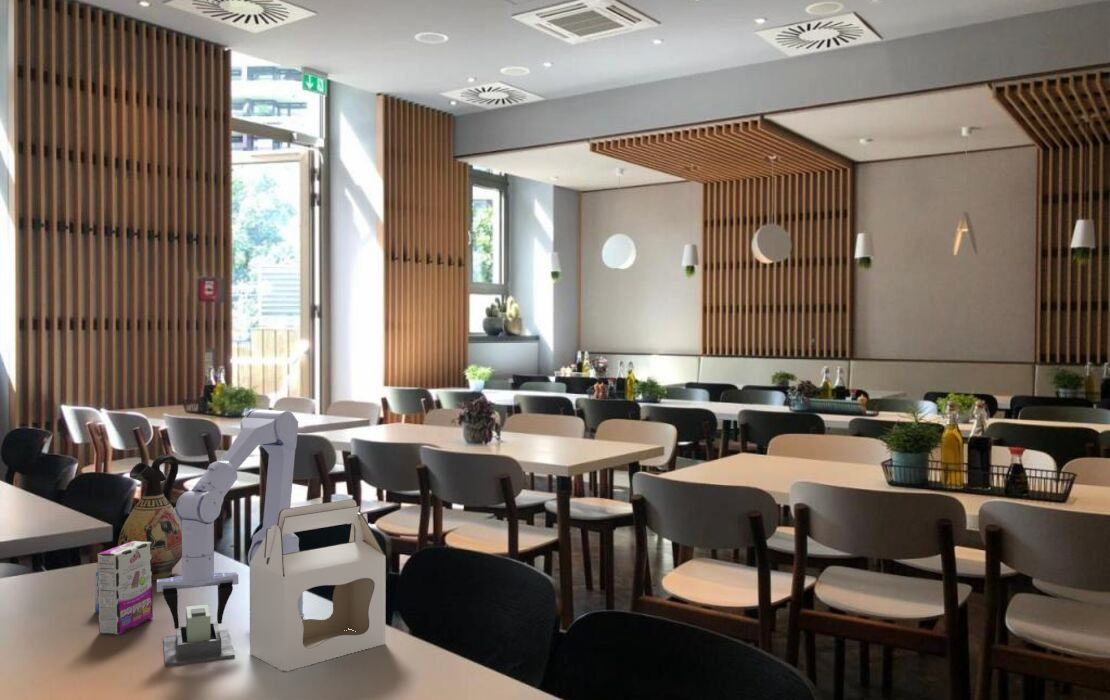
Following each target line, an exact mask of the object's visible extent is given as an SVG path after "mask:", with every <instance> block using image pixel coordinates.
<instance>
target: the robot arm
mask: <svg viewBox="0 0 1110 700" xmlns="http://www.w3.org/2000/svg"><path fill="white" fill-rule="evenodd" d="M298 431H299V421H298V419H297V418H296V416H295V415H294V413H292V411H290V410H283V411H281V410H263V409H256V408H254V409H250V410H248V411H247V412H246V414H245V416H244V417H243V418H242V419H241V421H240V431H239V432H238V434H237V436H236V438H235V439H234V441H233V442H232V444H231V445H230V447H229V449H228V450H227V452H226V453H225V455H224V457H222V459H221V461H220V460H219V461H218V460H216V461H213V462H212V463H210V464H209V465H208V466H207V469H206V471H205V472H204V473H203V475H201V477H200V479H199V480H198V481H197V482H196V484H195V485H194V486H193V487H192V489H191V490H187V491H184V493H183V494H181V495H180V496H179V497H178V499H177V501H176V505H175V507H173V509H174V511H175V515H176V517H177V518H178V520H179V528H180V529H181V530H182V558H181V575H178V576H173V577H166V578H163V579H158V580H156V592H157V593H161V592H162V593H163V594H162V595H163V598H164V600H165V602H166V604H167V606H168V608H169V611H170V613H171V617H172V620H173V627H174V629H175V630H176V629H178V628H179V626H180V624H179V623H180V622H179V614H178V610H179V609H178V608H179V607H178V606H179V605H178V604H179V601H178V599H179V596H178V590H182V589H193V588H203V587H204V588H205V587H212V586H217V612H216V622H217V623H218V625H220V624H222V623H223V617H224V612H225V608H226V606H227V604H228V601H229V599H230V596H231V595H232V592H233V590H234V587H233V585H234V586H235V585H239V572H238V571H233V572H232V571H231V572H215V549H214V548H215V526H214V525H215V520H216V519H217V518H218V517H219V516H220V514H221V510H222V505H223V503H224V500H225V499H224V498H225V496H226V495H227V494H228V492H229V490H230V489H231V488H232V486H233V485H234V484H235V483H236V481H237V479H238V472H237V471H238V469H239V468H240V467H241V466H242V465H243V463H244V462H245V461H246V460H247V459H248V458H249V456H250V455H251V454H252V453H253V452H254V451H255V449H256V448H257V447H258V446H259V447H262V448H263V449H264V450H265V452H266V453H267V454H268V461H267V464H268V465H267V472H266V473H267V474H266V485H265V487H266V488H265V497H264V498H265V500H264V510H263V519H262V528H261V529H259V530H258V531H257V532H255V533H254V535H252V539H251V545H250V548H249V550H248V553H247V554H248V555H247V562H248V565H249V567H250V562H251V560H252V558H253V557H254V555H255V553H256V552H257V550H258V548H259V546H260V545H261V543H262V541H263V540H264V538H265V536H266V529H267V528H271V527H272V526H274V525H277V523H278V517H279V513H280V511H281V510H282V509H286V508H291V502H292V492H293V481H294V479H293V478H294V469H295V468H294V467H295V459H296V458H295V455H296V448H297V443H298V433H299V432H298ZM299 543H300V537H298V536H297V535H296V534H295V532H292V533H290V534H284V535H283V537H282V545H283V554H287V553H293V552H299V551H300V546H299ZM303 594H304V592H303V593H302V594H301V595H300V597H299V599H298V611H299V614H300V616H301V618H302V617H303V616H304V613H303V611H304V610H303V605H304V598H303V597H304V596H303Z"/></svg>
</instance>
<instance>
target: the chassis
mask: <svg viewBox="0 0 1110 700" xmlns="http://www.w3.org/2000/svg"><path fill="white" fill-rule="evenodd" d="M163 652H164V655H163V656H164V667H165V668H167V667H174V666H181V665H188V664H196V663H197V664H199V663H205V662H206V663H207V662H213V661H220V660H228V659H235V658H236V654H235V650H234V647H233V643H232V640H231V635H230V631H229V628H228V629H227V628H225V629H220V628H219V624H218V622H217V621H214V622H210V640H204V641H196V642H188V643H187V635H186V624H184V625H179V628H178V629H175V635H167V636H166V635H165V636H163Z"/></svg>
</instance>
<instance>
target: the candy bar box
mask: <svg viewBox="0 0 1110 700" xmlns="http://www.w3.org/2000/svg"><path fill="white" fill-rule="evenodd" d="M96 560H97V572H98V602H99V612H98V633H99V634H102V635H117V636H120V635H122V634H123V633H125V632H128V631H130V630H132V629H134V628H137V626H140V625H142V624H143V623H146V622H147V621H150V620H151V619H153V618H154V615H153V614H154V613H153V581H152V563H151V542H143V541H131V542H129V543H126V544H123V545H120V546H118V545H117V546H115V547H112V548H110V549H107V550H104V551H101V552H98V553H97V559H96Z"/></svg>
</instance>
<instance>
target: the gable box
mask: <svg viewBox="0 0 1110 700" xmlns="http://www.w3.org/2000/svg"><path fill="white" fill-rule="evenodd" d="M360 508H361V505H357V502H356V500H355V499H344V500H337V501H336V500H335V501H331V502H330V501H329V502H321V503H316V504H308V505H303V506H302V505H301V506H295V507H290V508H286V509H282V510H281V511H280V513H279V517H278V523H277V525H274V526H272V527H271V528H267V529H266V536H265V538H264V540H263V541H262V543H261V545H260V546H259V548H258V550H257V552H256V553H255V555H254V557H253V558H252V560H251V562H250V566H249V654H250V655H251V656H253V657H254V658H257V659H259V660H260V659H261V660H260V661H263V662H265V663H266V664H268V665H270V666H272V667H274V668H275V667H276V669H277V668H278V670H279V671H281V672H283V673H284V671H285V672H286V671H287V672H291V671H294V670H293V669H295V670H297V669H296V668H298V669H301V668H300V667H302V668H305V667H308V666H307V665H309V666H311V664H313V665H316V664H319V663H318V662H320V663H323V662H326V661H325V660H327V661H330V660H329V659H331V660H333V659H332V658H334V659H337V658H336V657H338V658H341V657H344V656H343V655H345V656H347V655H346V654H349V655H351V654H350V653H352V654H355V653H354V652H356V653H358V652H357V651H360V652H362V651H361V650H363V651H366V650H365V649H367V650H369V649H368V648H370V649H373V647H374V648H377V647H376V646H378V647H381V646H384V645H385V644H386V596H387V595H386V589H387V587H386V579H387V575H386V573H387V572H386V567H387V565H386V561H387V560H386V558H387V557H386V554H385V552H384V550H383V549H382V547H381V545H380V543H379V542H378V539H377V538H376V536H375V534H374V532H373V530H372V529H371V527H370V525H369V523H368V513H366V512H364V513H360V512H359V511H360ZM346 524H347V525H350V524H351V526H350V527H351V528H350V534H349V540H348V542H344V543H339V544H333V545H332V544H331V545H328V546H327V545H326V546H322V547H316V548H311V549H305V550H301V551H299V552H293V553H287V554H283V545H282V537H283V535H284V534H290V533H292V532H293V533H298V532H303V531H309V530H311V531H312V530H318V529H321V528H329V527H335V526H339V525H346ZM321 586H334V589H333V593H332V597H331V598H332V599H331V600H332V608H333V609H332V613H331V615H330V616H329V617H327V618H325V619H315V618H307V619H305V618H304V619H302V617H301V616H300V614H299V611H298V599H299V597H300V595H301V594H302V593H303V594H304V592H305V591H307V590H310V589H312V588H315V587H321ZM348 628H349V629H352V630H354V631H352V630H348ZM344 630H345V631H344ZM346 630H347V631H346ZM355 631H356V632H355ZM380 645H381V646H380ZM340 656H341V657H340ZM322 661H323V662H322ZM315 663H316V664H315ZM304 666H305V667H304ZM290 670H291V671H290ZM287 672H286V673H287Z"/></svg>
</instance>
